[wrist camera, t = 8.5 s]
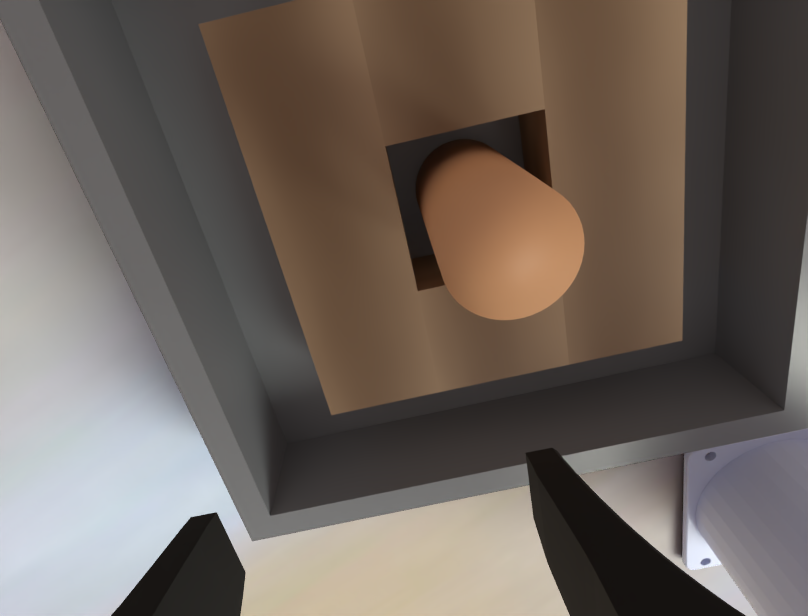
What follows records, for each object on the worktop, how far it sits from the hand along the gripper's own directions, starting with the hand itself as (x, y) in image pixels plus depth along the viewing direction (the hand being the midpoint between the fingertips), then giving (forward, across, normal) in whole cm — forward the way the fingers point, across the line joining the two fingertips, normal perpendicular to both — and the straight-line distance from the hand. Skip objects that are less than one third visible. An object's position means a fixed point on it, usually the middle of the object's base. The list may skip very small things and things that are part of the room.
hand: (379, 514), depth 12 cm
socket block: (+9, -4, -5) cm, 11 cm away
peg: (+9, -4, -5) cm, 11 cm away
